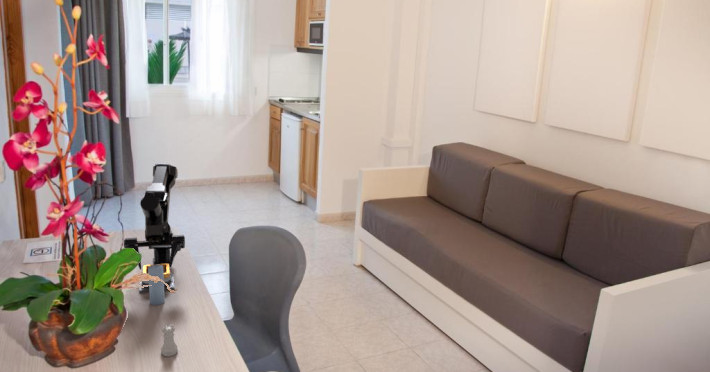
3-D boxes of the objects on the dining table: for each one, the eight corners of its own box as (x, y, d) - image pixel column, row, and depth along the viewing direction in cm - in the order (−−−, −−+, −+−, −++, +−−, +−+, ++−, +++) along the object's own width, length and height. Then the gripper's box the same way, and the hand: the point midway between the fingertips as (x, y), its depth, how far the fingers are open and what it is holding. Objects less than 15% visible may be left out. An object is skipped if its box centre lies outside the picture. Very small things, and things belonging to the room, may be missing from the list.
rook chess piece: (177, 356, 156) (176, 330, 154) (160, 357, 155) (158, 331, 153) (178, 347, 160) (177, 322, 158) (161, 348, 159) (160, 323, 157)
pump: (149, 299, 185) (148, 265, 182) (164, 297, 187) (163, 264, 183) (149, 308, 180) (148, 273, 176) (164, 306, 181) (163, 272, 178)
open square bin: (140, 278, 198) (139, 263, 197) (173, 275, 202) (172, 261, 200) (139, 293, 188) (138, 277, 187) (174, 289, 192) (173, 275, 190)
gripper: (122, 214, 181) (122, 261, 174) (183, 211, 187) (186, 256, 180) (124, 229, 190) (125, 273, 184) (183, 226, 196) (185, 268, 190)
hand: (155, 267), depth 184 cm, fingers open, 9 cm apart
